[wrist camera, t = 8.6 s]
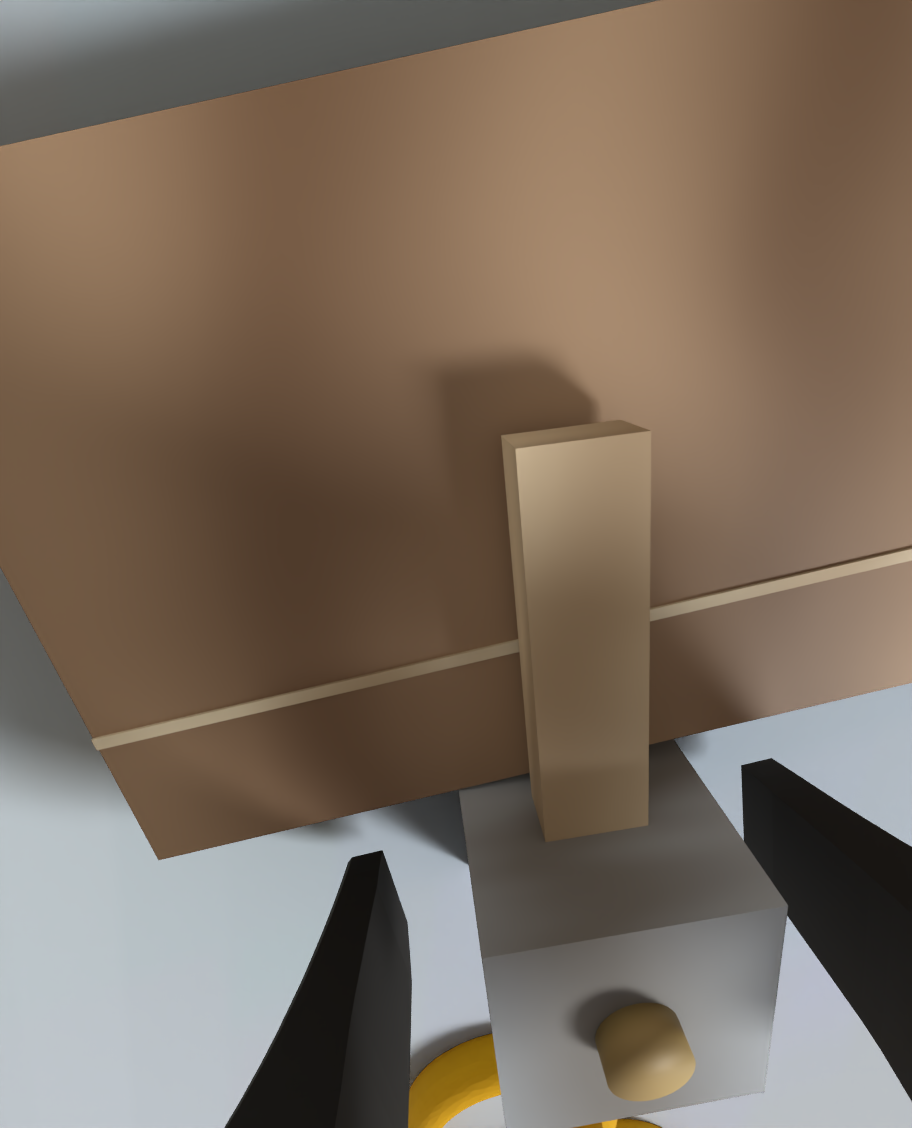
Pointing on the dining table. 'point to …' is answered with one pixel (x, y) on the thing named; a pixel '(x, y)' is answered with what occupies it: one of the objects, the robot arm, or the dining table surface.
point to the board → (458, 394)
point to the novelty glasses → (467, 1086)
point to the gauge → (608, 829)
